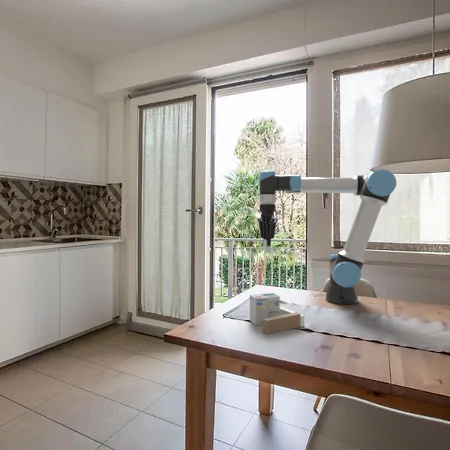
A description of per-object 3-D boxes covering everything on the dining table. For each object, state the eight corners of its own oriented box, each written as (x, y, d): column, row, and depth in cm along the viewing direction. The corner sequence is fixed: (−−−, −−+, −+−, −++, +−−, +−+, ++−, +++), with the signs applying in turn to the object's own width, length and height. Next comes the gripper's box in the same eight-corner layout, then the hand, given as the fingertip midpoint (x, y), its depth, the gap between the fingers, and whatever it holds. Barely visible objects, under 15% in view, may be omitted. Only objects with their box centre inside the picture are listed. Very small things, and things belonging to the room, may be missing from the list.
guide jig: (266, 309, 148) (266, 298, 148) (304, 325, 127) (304, 313, 127) (232, 316, 139) (232, 304, 139) (266, 334, 118) (267, 320, 118)
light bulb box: (272, 317, 137) (272, 292, 136) (280, 323, 130) (280, 296, 130) (248, 320, 134) (249, 294, 133) (255, 325, 127) (255, 298, 127)
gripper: (253, 203, 161) (252, 251, 162) (269, 203, 150) (269, 254, 150) (265, 204, 165) (265, 251, 165) (282, 203, 153) (282, 253, 154)
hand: (267, 252), depth 158 cm, fingers closed
